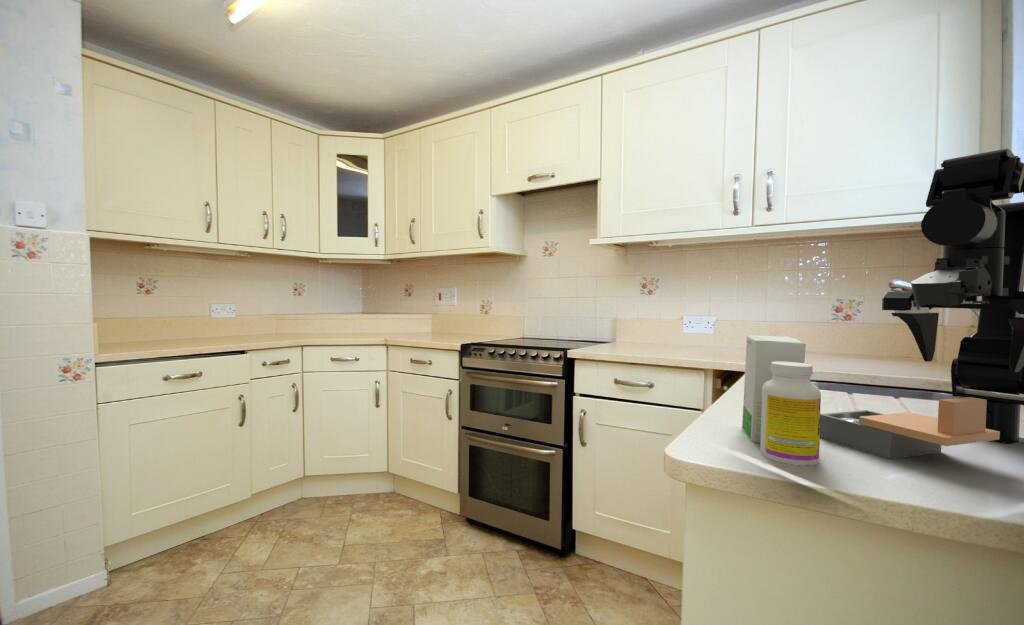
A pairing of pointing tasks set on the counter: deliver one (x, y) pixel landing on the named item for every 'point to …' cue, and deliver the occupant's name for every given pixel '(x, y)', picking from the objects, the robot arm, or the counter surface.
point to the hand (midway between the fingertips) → (968, 366)
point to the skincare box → (764, 374)
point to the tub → (871, 436)
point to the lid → (940, 423)
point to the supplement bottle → (790, 415)
